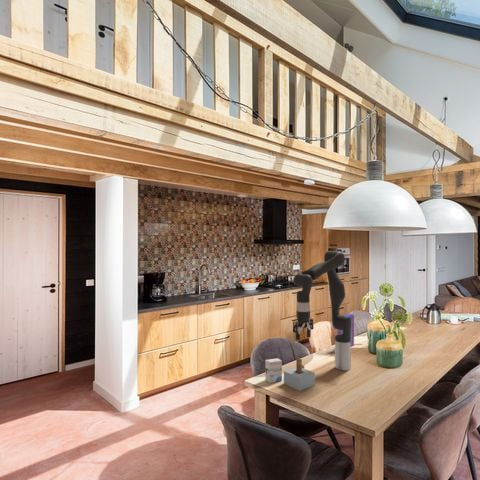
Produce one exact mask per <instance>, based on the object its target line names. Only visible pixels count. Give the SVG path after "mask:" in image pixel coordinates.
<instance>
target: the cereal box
mask: <svg viewBox="0 0 480 480" xmlns="http://www.w3.org/2000/svg"><path fill="white" fill-rule="evenodd" d="M343 315H344V316H349V317H350V318H351V337H350V348H352V347H354V346H355V314H353V313H347V314H343ZM336 330H337V331H336V332H337V335H339V334H343V330H338V329H336Z"/></svg>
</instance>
